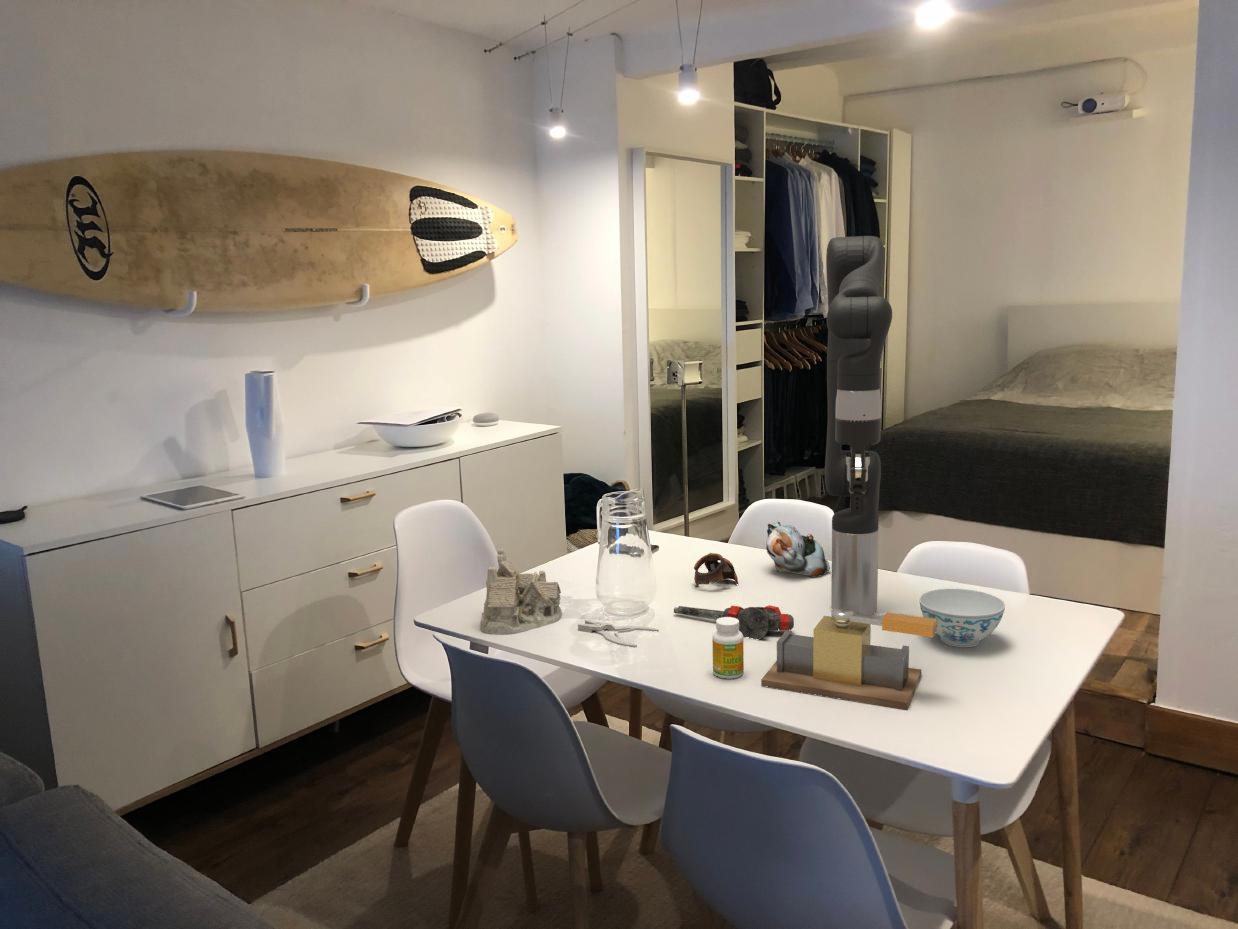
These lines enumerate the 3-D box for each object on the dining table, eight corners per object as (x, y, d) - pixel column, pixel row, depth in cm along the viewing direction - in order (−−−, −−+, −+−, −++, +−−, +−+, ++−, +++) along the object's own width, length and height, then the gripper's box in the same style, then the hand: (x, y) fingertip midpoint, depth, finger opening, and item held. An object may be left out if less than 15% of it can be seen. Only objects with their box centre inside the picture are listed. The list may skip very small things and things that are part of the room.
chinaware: (941, 620, 187) (942, 583, 185) (1017, 639, 176) (1019, 599, 175) (903, 642, 177) (904, 603, 175) (981, 663, 166) (982, 621, 165)
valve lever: (828, 622, 158) (828, 611, 158) (834, 616, 161) (835, 604, 161) (932, 637, 150) (932, 626, 150) (936, 630, 153) (937, 618, 153)
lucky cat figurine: (835, 577, 215) (815, 531, 209) (786, 598, 217) (765, 552, 211) (819, 542, 229) (800, 498, 223) (773, 562, 231) (753, 518, 224)
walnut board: (785, 656, 172) (785, 649, 172) (921, 676, 162) (921, 669, 161) (761, 686, 160) (761, 679, 160) (907, 709, 149) (907, 702, 149)
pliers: (634, 641, 179) (568, 629, 186) (635, 649, 179) (568, 637, 186) (659, 624, 187) (594, 614, 194) (659, 632, 187) (594, 621, 195)
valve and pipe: (787, 660, 168) (787, 606, 166) (908, 678, 159) (910, 621, 157) (776, 675, 162) (775, 619, 160) (901, 695, 153) (902, 636, 151)
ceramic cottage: (469, 632, 189) (470, 560, 187) (500, 608, 205) (501, 541, 203) (543, 642, 186) (544, 568, 183) (568, 616, 201) (570, 548, 199)
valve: (812, 631, 190) (782, 645, 177) (698, 616, 204) (663, 628, 192) (813, 599, 190) (782, 611, 177) (699, 587, 204) (663, 597, 191)
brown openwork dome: (746, 590, 211) (732, 564, 207) (709, 610, 211) (694, 584, 207) (730, 562, 221) (717, 537, 218) (695, 581, 222) (681, 556, 218)
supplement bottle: (722, 682, 162) (721, 628, 160) (707, 670, 167) (706, 618, 165) (749, 675, 164) (749, 623, 162) (733, 665, 169) (733, 613, 167)
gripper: (882, 421, 154) (881, 523, 157) (878, 409, 167) (877, 505, 170) (835, 421, 156) (834, 523, 159) (835, 410, 168) (834, 504, 172)
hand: (856, 513), depth 164 cm, fingers closed
